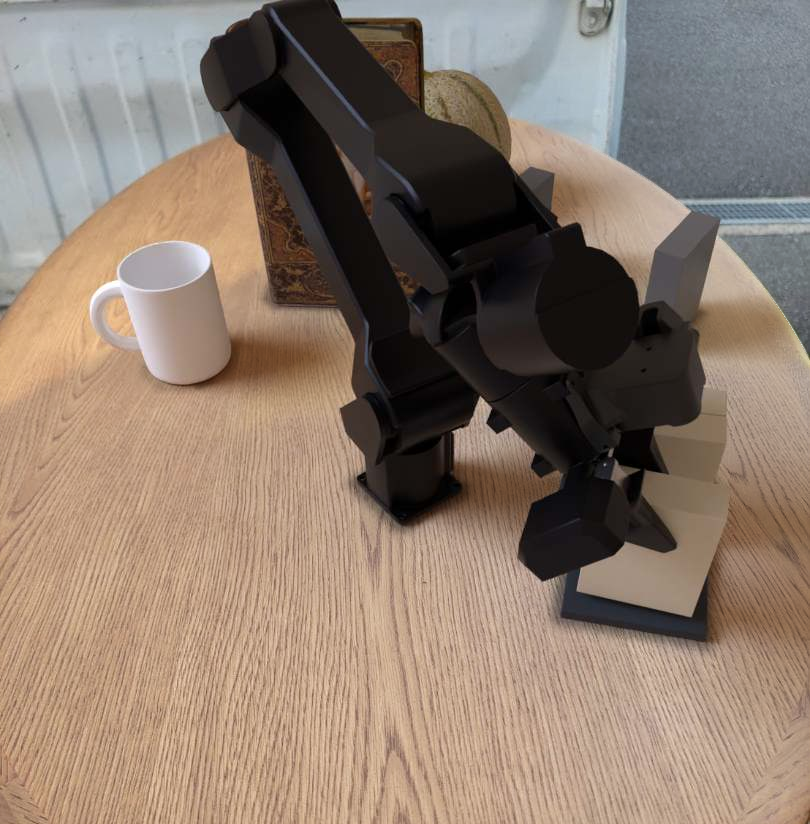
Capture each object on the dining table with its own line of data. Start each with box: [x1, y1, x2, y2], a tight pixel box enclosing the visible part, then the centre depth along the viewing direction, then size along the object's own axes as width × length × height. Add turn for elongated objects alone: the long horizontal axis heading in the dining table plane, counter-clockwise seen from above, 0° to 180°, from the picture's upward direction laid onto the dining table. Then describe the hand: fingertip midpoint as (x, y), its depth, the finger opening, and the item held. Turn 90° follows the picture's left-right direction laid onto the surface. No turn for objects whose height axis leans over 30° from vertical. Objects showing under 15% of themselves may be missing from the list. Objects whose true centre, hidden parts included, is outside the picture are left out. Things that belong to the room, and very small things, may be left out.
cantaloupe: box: [424, 68, 513, 163], centre depth 97 cm, size 15×15×15 cm
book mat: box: [560, 387, 728, 642], centre depth 63 cm, size 10×16×11 cm, turn 166°
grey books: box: [518, 166, 722, 323], centre depth 85 cm, size 8×20×10 cm, turn 55°
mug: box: [89, 240, 232, 386], centre depth 80 cm, size 12×8×10 cm
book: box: [224, 16, 425, 308], centre depth 82 cm, size 16×6×25 cm, turn 84°
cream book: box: [577, 465, 732, 617], centre depth 58 cm, size 8×3×10 cm, turn 72°
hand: (674, 531), depth 57 cm, fingers closed on cream book, 3 cm apart
